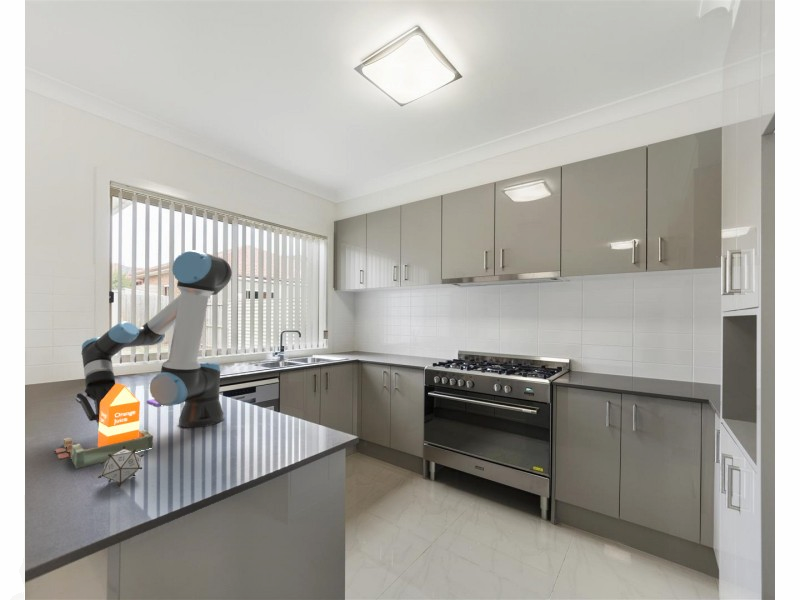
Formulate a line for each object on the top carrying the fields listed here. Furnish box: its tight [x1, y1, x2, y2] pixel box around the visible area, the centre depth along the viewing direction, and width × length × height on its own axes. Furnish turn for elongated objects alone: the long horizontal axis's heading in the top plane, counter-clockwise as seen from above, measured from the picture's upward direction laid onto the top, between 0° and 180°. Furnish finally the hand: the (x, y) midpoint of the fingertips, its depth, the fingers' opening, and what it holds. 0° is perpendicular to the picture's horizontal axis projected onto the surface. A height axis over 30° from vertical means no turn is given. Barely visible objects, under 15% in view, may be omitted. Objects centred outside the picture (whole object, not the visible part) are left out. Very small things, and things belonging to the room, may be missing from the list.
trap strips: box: [54, 447, 70, 460], centre depth 99 cm, size 10×2×1 cm, turn 51°
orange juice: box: [97, 382, 141, 447], centre depth 103 cm, size 8×9×20 cm
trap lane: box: [62, 429, 154, 469], centre depth 104 cm, size 26×17×4 cm, turn 51°
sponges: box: [146, 398, 161, 407], centre depth 158 cm, size 7×13×2 cm, turn 55°
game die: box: [97, 446, 145, 488], centre depth 83 cm, size 9×8×10 cm
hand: (107, 436), depth 104 cm, fingers closed
